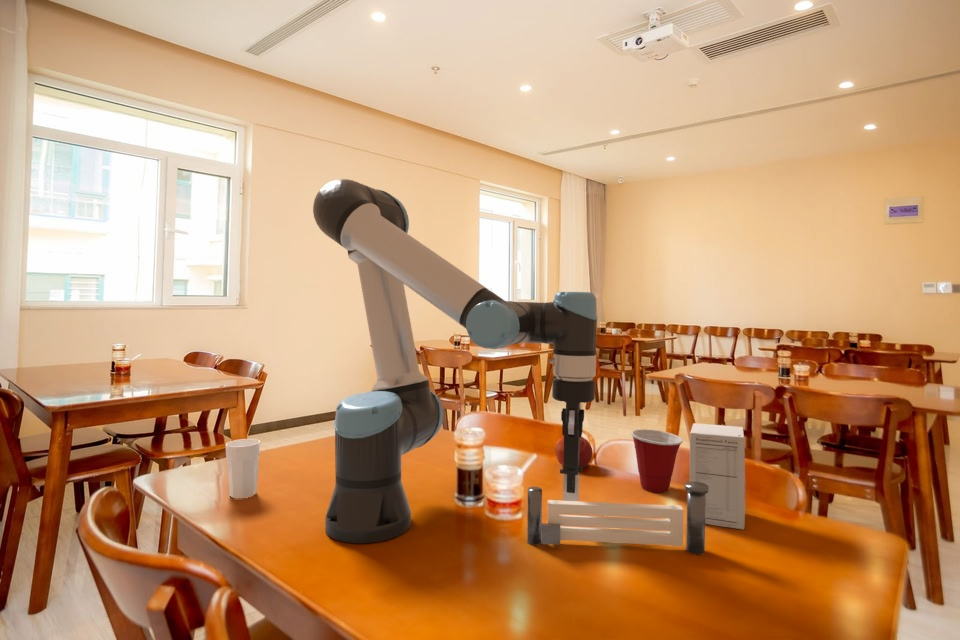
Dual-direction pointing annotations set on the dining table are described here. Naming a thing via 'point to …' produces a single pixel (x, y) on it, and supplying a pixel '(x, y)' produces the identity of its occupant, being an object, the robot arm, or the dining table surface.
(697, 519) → the hinge post
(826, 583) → the dining table surface
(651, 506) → the gate
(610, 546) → the dining table surface
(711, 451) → the supplement box
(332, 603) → the dining table surface
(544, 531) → the post
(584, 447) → the tomato
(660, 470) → the plastic cup
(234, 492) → the cup
